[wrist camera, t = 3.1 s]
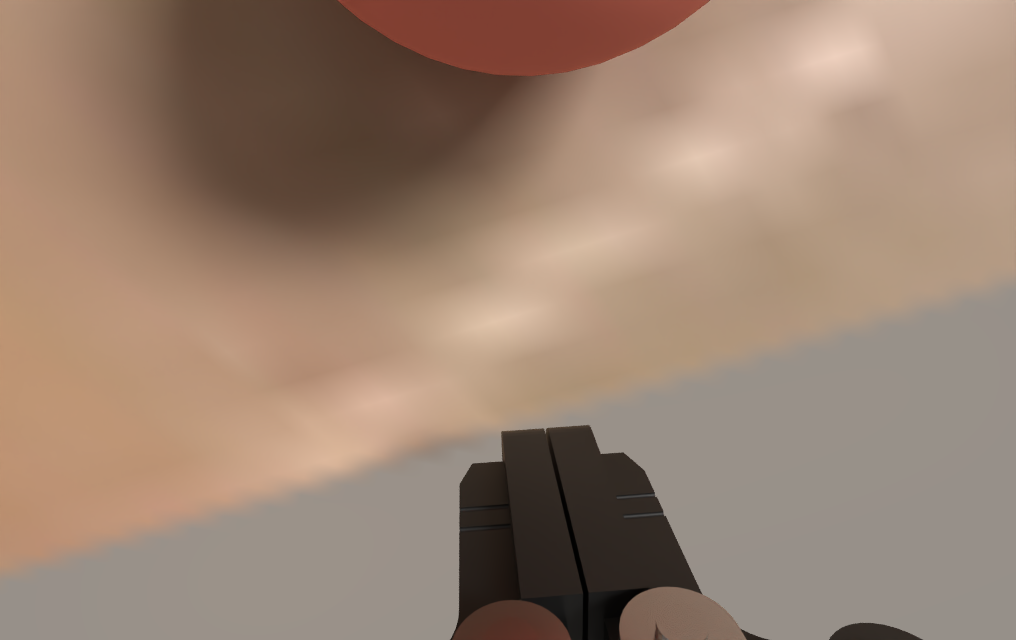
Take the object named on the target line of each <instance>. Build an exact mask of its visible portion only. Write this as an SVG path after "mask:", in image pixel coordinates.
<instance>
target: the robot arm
mask: <svg viewBox="0 0 1016 640" xmlns="http://www.w3.org/2000/svg"><path fill="white" fill-rule="evenodd" d="M501 438H502V460H503V462H489V463H475V464H472V465H471V467H470V468H469V470H468V472H467V473H466V475H465V477H464V478H463V480H462V481H461V483H460V533H459V535H460V537H459V539H460V540H459V541H460V543H459V549H460V550H459V557H460V558H459V618H458V623H457V626H456V629H455V631H454V634H453V636H452V638H451V639H450V640H768V639H764V638H761V637H758V636H755V635H753V634H750V633H748V632H745V631H744V630H742V629H740V628H739V626H738V625H737V623H736V622H735V620H734V619H733V617H732V616H731V615H730V614H729V613H728V612H727V611H726V610H725V609H724V608H723V607H721V606H720V605H719V604H718V603H716V602H715V601H713V600H711V599H710V598H708V597H706V596H704V595H703V594H702V593H701V591H700V589H699V587H698V585H697V582H696V580H695V578H694V576H693V574H692V572H691V570H690V568H689V565H688V563H687V561H686V559H685V557H684V555H683V553H682V550H681V548H680V546H679V544H678V542H677V539H676V537H675V535H674V533H673V531H672V529H671V527H670V524H669V522H668V520H667V518H666V516H664V514H663V509H662V507H661V505H660V503H659V501H658V499H657V497H655V492H654V490H653V488H652V486H651V484H650V481H649V479H648V477H647V475H646V473H645V471H644V470H643V469H642V468H641V467H640V466H638V465H637V464H636V463H635V462H634V461H633V460H632V459H630V458H629V457H628V456H627V455H626V454H624V453H610V454H600V451H599V448H598V446H597V443H596V440H595V438H594V435H593V432H592V430H591V427H590V426H589V425H586V426H585V425H584V426H571V427H556V428H547V429H546V434H545V431H544V429H529V430H515V431H502V432H501ZM829 640H922V639H920V638H918V637H916V636H914V635H912V634H910V633H908V632H905V631H902V630H900V629H897V628H894V627H890V626H886V625H881V624H874V623H858V624H851V625H848V626H845V627H842V628H841V629H839V630H838V631H836V632H835V633H834V634H833V635H832V636H831V637H830V639H829Z"/></svg>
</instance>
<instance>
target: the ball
mask: <svg viewBox="0 0 1016 640" xmlns="http://www.w3.org/2000/svg"><path fill="white" fill-rule="evenodd" d="M337 1H339V2H340V3H341V4H342V5H343V6H345V7H346V8H347V9H348V10H349V11H350V12H352V13H353V14H354V15H355V16H356V17H358V18H359V19H360V20H361V21H363V22H364V23H366V24H367V25H369V26H371V27H372V28H374V29H375V30H377V31H378V32H380V33H381V34H383V35H384V36H386V37H388V38H389V39H391V40H392V41H394V42H396V43H398V44H400V45H402V46H404V47H406V48H408V49H410V50H413V51H415V52H417V53H419V54H421V55H423V56H425V57H427V58H430V59H433V60H436V61H439V62H442V63H446V64H449V65H452V66H455V67H458V68H461V69H466V70H472V71H477V72H483V73H489V74H495V75H516V76H536V75H545V74H554V73H563V72H569V71H573V70H577V69H581V68H584V67H588V66H592V65H596V64H600V63H602V62H605V61H607V60H610V59H612V58H615V57H617V56H620V55H622V54H624V53H627V52H629V51H632V50H634V49H636V48H639V47H641V46H643V45H645V44H646V43H648V42H650V41H652V40H653V39H655V38H657V37H659V36H660V35H662V34H664V33H666V32H667V31H669V30H671V29H673V28H674V27H676V26H677V25H679V24H680V23H681V22H682V21H684V20H685V19H686V18H688V17H689V16H690V15H692V14H693V13H694V12H696V11H697V10H698V9H700V8H701V7H702V6H704V5H705V4H706V3H707V2H709V1H710V0H337Z"/></svg>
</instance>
